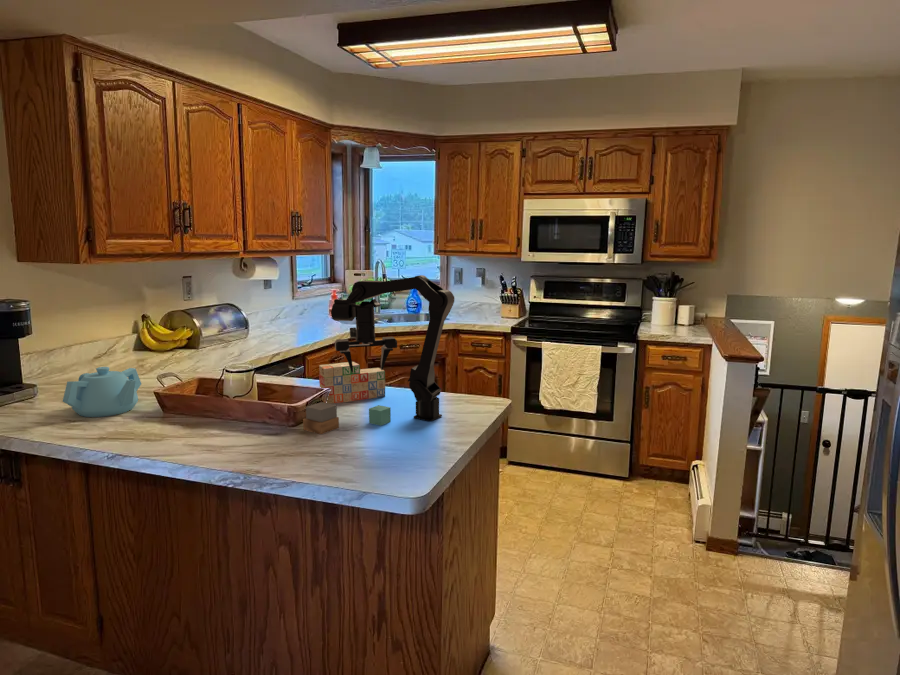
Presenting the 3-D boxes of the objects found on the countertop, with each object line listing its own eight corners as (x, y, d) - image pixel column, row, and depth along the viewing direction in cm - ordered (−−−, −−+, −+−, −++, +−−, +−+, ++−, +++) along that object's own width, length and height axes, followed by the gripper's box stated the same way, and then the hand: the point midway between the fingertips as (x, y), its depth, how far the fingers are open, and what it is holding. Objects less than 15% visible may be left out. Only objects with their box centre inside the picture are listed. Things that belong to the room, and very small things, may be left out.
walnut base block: (338, 428, 167) (338, 417, 167) (321, 435, 162) (321, 423, 161) (321, 424, 171) (320, 413, 170) (303, 431, 165) (303, 419, 165)
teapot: (63, 421, 171) (59, 375, 169) (79, 404, 188) (75, 362, 186) (137, 415, 177) (134, 371, 175) (145, 400, 195) (142, 359, 193)
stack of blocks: (378, 393, 207) (378, 359, 205) (385, 397, 202) (385, 362, 200) (319, 400, 197) (318, 364, 195) (324, 404, 192) (323, 368, 190)
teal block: (390, 422, 173) (390, 407, 173) (381, 426, 170) (380, 411, 169) (378, 419, 176) (378, 405, 175) (369, 423, 172) (368, 408, 171)
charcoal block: (336, 417, 167) (336, 405, 166) (321, 422, 162) (321, 410, 161) (321, 413, 170) (321, 402, 169) (306, 418, 165) (305, 406, 164)
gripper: (391, 317, 190) (392, 364, 192) (332, 319, 185) (335, 367, 187) (396, 321, 179) (398, 371, 181) (335, 324, 174) (337, 375, 177)
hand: (367, 371), depth 182 cm, fingers open, 9 cm apart
